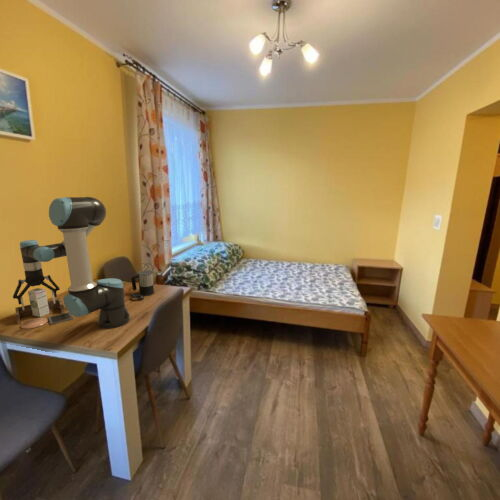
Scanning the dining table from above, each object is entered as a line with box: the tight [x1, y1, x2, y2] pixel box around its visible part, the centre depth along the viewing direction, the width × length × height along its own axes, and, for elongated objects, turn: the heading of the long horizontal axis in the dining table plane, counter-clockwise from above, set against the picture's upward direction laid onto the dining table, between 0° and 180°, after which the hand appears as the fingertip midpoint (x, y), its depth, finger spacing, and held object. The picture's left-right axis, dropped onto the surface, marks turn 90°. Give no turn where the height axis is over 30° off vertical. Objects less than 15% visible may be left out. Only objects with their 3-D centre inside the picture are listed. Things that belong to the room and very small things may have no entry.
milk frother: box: [130, 270, 155, 300], centre depth 178 cm, size 14×16×15 cm
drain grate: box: [47, 311, 74, 326], centre depth 147 cm, size 10×10×1 cm
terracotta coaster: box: [20, 317, 49, 330], centre depth 141 cm, size 11×11×1 cm
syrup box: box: [27, 287, 50, 318], centre depth 150 cm, size 6×6×14 cm
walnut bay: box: [15, 298, 66, 325], centre depth 151 cm, size 12×20×5 cm, turn 131°
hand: (39, 306), depth 151 cm, fingers open, 13 cm apart
